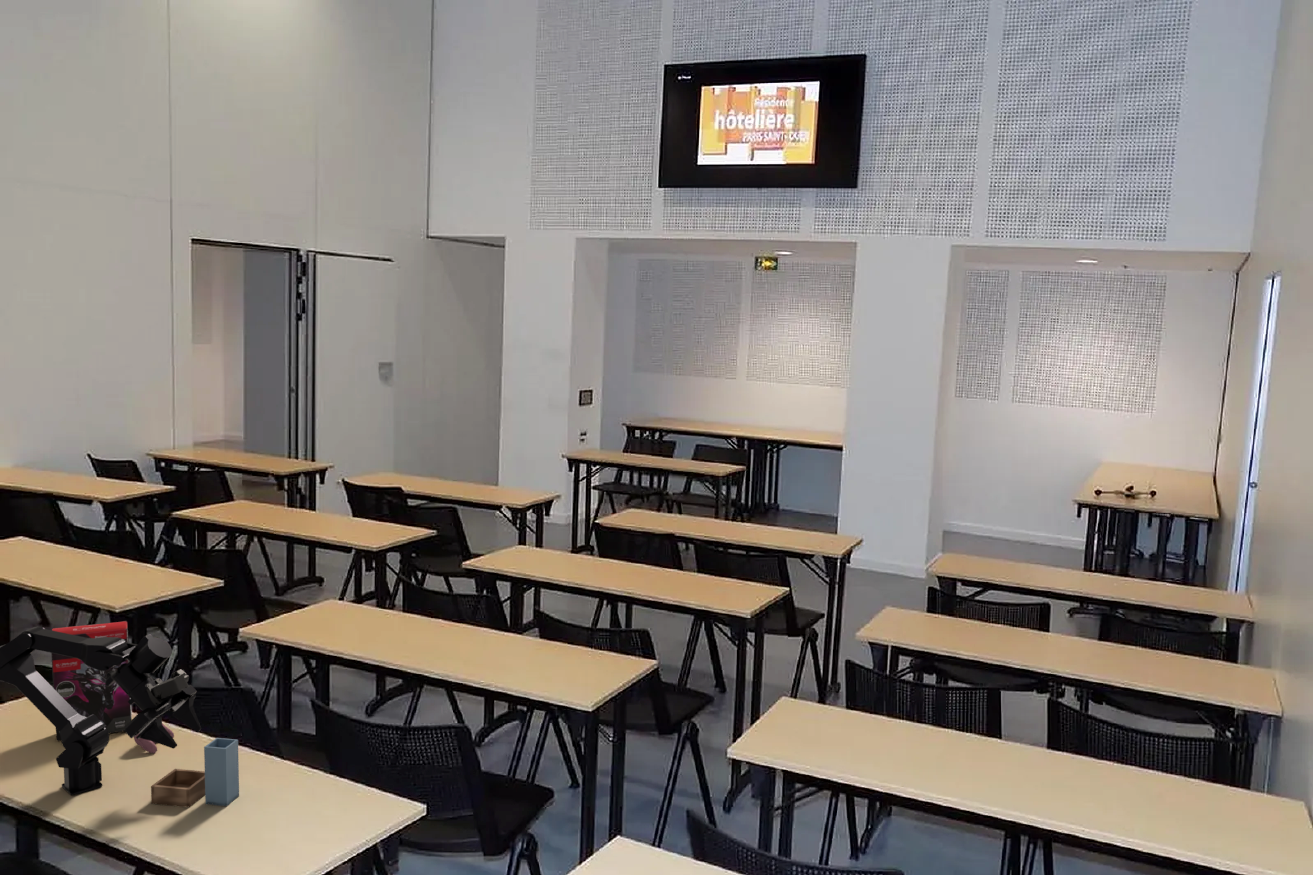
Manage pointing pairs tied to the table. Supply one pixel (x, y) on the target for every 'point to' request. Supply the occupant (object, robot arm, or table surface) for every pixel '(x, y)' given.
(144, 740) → the video game controller
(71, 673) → the graphics card box
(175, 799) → the walnut crate
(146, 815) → the table surface
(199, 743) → the table surface
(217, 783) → the tall slate-blue crate
